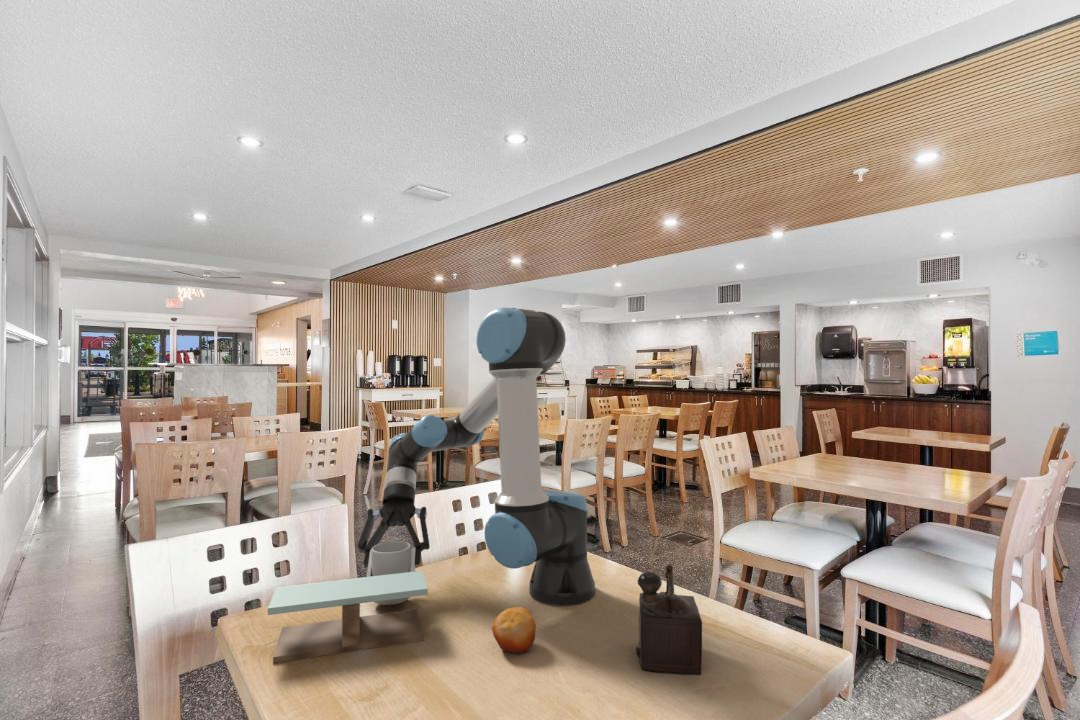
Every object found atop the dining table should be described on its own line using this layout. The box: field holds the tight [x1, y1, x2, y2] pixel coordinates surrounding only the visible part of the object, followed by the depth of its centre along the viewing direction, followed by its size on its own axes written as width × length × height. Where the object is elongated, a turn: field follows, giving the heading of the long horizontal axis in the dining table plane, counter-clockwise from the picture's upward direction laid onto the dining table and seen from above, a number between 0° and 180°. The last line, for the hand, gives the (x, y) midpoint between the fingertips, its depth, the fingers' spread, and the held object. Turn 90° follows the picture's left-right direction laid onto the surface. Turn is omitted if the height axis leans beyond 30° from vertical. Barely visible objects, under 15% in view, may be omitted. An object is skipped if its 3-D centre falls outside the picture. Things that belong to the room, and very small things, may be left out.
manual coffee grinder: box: [635, 564, 703, 676], centre depth 96 cm, size 16×11×18 cm
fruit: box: [491, 606, 537, 654], centre depth 103 cm, size 8×8×8 cm
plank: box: [267, 570, 429, 616], centre depth 107 cm, size 28×10×1 cm, turn 108°
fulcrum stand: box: [272, 603, 424, 664], centre depth 107 cm, size 26×12×8 cm, turn 108°
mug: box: [371, 540, 412, 606], centre depth 123 cm, size 12×8×11 cm
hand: (390, 579), depth 120 cm, fingers closed on mug, 8 cm apart
